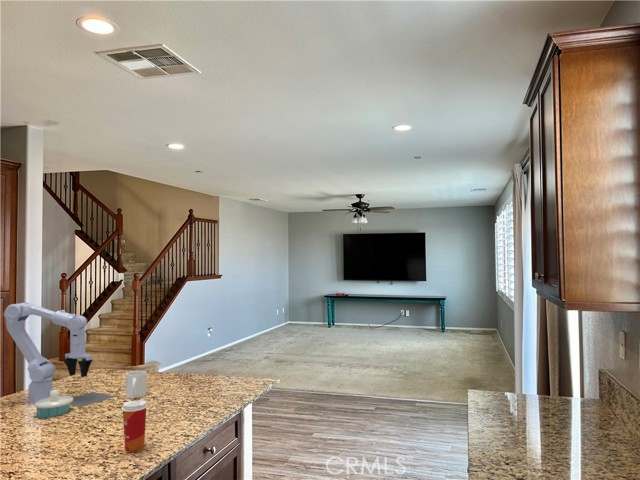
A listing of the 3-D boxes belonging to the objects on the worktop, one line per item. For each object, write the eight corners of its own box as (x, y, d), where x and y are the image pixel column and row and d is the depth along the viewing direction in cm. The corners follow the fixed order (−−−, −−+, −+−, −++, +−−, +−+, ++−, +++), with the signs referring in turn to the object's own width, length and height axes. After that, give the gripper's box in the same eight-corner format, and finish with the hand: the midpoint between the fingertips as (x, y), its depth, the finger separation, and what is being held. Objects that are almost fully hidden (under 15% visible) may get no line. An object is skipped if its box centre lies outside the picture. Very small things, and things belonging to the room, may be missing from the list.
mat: (58, 402, 194) (58, 401, 194) (92, 392, 208) (92, 391, 208) (81, 408, 186) (81, 407, 186) (115, 397, 200) (115, 396, 200)
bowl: (30, 415, 178) (30, 405, 178) (58, 407, 187) (58, 397, 188) (47, 420, 172) (47, 409, 173) (74, 411, 182) (74, 401, 182)
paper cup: (126, 443, 149) (126, 400, 150) (150, 442, 150) (150, 399, 150) (117, 453, 141) (117, 407, 142) (143, 452, 142) (143, 406, 143)
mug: (143, 401, 194) (143, 376, 195) (122, 402, 192) (122, 378, 193) (147, 393, 206) (147, 370, 206) (127, 394, 204) (128, 371, 204)
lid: (28, 405, 178) (28, 392, 178) (61, 396, 189) (61, 384, 190) (46, 410, 172) (46, 397, 172) (80, 400, 183) (80, 388, 183)
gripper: (58, 345, 197) (58, 376, 197) (80, 346, 191) (81, 379, 191) (73, 342, 204) (73, 372, 203) (95, 343, 197) (95, 375, 197)
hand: (78, 375), depth 197 cm, fingers open, 7 cm apart
